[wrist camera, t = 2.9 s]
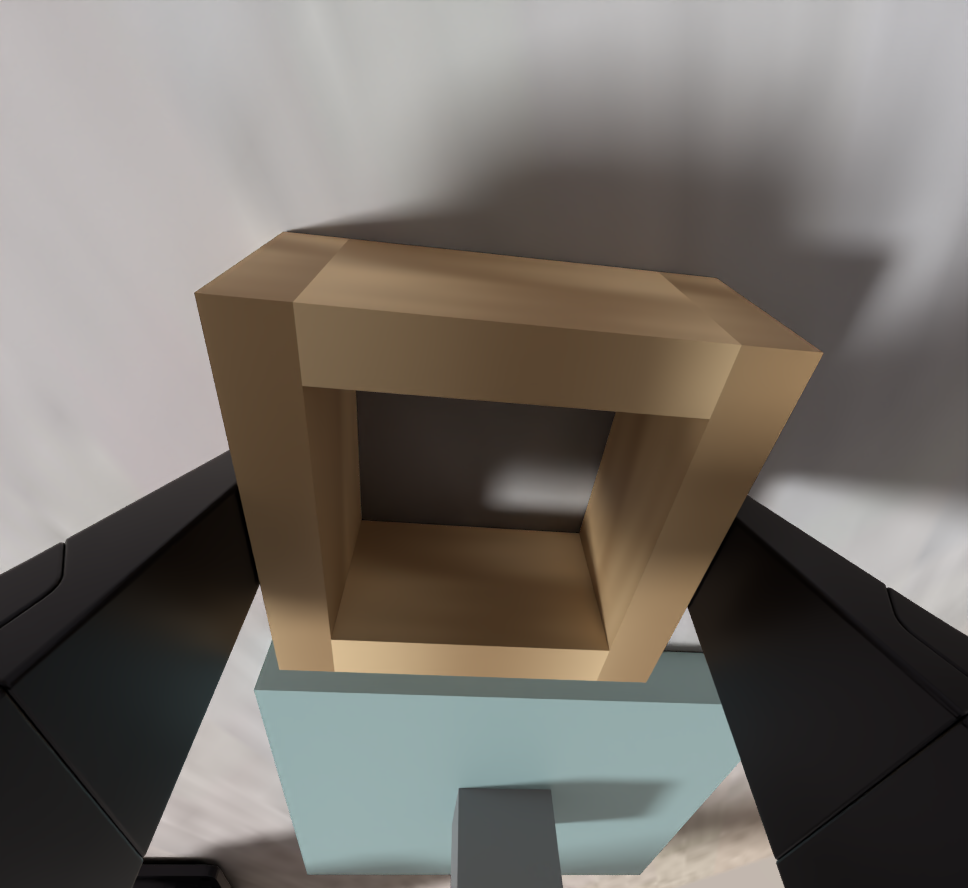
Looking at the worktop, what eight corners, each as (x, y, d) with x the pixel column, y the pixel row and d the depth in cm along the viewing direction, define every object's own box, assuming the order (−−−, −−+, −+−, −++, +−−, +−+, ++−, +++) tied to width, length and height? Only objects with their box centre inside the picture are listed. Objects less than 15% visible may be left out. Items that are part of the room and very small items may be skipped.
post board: (316, 829, 21) (276, 1026, 17) (273, 635, 13) (173, 908, 9) (630, 832, 22) (671, 1016, 18) (760, 655, 15) (892, 904, 10)
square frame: (319, 548, 12) (279, 669, 9) (283, 231, 8) (193, 292, 5) (609, 564, 12) (646, 683, 10) (716, 277, 8) (822, 352, 6)
